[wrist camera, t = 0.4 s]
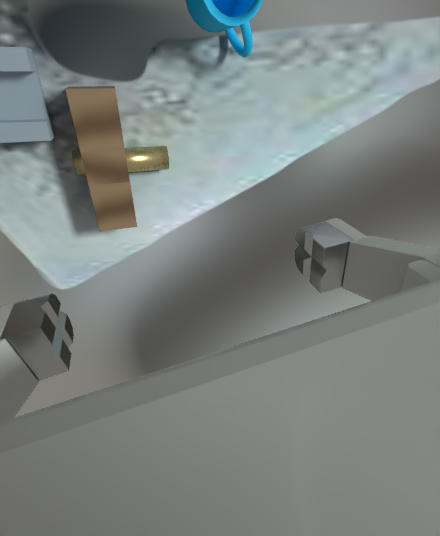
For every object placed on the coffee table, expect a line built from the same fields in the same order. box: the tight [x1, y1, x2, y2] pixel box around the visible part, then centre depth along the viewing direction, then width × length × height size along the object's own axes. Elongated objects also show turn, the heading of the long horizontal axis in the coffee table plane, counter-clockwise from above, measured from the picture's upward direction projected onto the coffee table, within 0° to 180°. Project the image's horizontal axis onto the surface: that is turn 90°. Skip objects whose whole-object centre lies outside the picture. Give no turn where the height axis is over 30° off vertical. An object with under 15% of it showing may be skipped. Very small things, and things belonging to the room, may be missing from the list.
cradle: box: [0, 47, 55, 143], centre depth 39 cm, size 10×9×4 cm
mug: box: [186, 0, 262, 57], centre depth 39 cm, size 12×8×8 cm
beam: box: [65, 86, 137, 231], centre depth 46 cm, size 20×6×5 cm, turn 0°
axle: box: [72, 146, 169, 176], centre depth 47 cm, size 4×14×4 cm, turn 90°
